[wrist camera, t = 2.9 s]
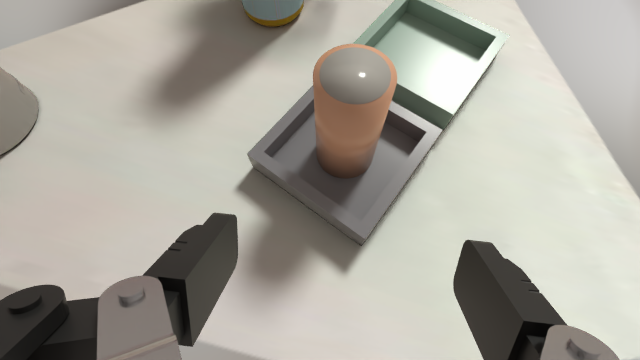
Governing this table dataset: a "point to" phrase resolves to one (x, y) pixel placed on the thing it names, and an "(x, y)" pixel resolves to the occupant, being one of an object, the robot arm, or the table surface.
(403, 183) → the tray
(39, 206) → the table surface
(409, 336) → the table surface
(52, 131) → the table surface
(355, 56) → the orange cylinder
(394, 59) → the tray
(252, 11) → the bottle
